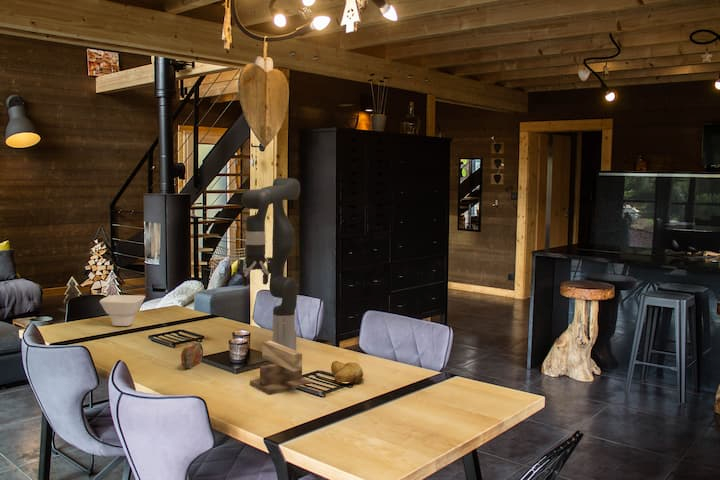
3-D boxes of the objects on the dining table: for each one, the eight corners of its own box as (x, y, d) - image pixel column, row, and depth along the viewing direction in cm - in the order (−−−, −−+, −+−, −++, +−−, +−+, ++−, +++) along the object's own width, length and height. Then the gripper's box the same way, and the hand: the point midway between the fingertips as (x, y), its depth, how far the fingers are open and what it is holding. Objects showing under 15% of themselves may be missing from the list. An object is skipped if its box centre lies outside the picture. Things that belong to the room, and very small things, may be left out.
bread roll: (357, 376, 255) (357, 355, 255) (371, 382, 247) (371, 361, 247) (328, 381, 248) (328, 360, 248) (341, 388, 240) (342, 366, 239)
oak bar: (270, 356, 251) (270, 340, 250) (302, 370, 233) (302, 353, 233) (262, 357, 248) (262, 341, 248) (293, 371, 231) (293, 354, 231)
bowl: (135, 330, 324) (135, 302, 322) (96, 329, 324) (95, 301, 323) (148, 322, 342) (148, 295, 341) (111, 321, 342) (110, 294, 341)
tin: (187, 371, 257) (187, 349, 256) (179, 370, 258) (179, 349, 257) (203, 361, 272) (203, 340, 271) (196, 360, 272) (196, 340, 272)
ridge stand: (292, 376, 253) (292, 356, 252) (312, 385, 242) (312, 364, 241) (249, 384, 242) (250, 363, 241) (269, 394, 230) (269, 372, 230)
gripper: (266, 241, 260) (266, 282, 262) (233, 243, 251) (233, 285, 253) (276, 243, 254) (276, 285, 256) (243, 244, 246) (243, 288, 247)
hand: (255, 285), depth 254 cm, fingers open, 8 cm apart
